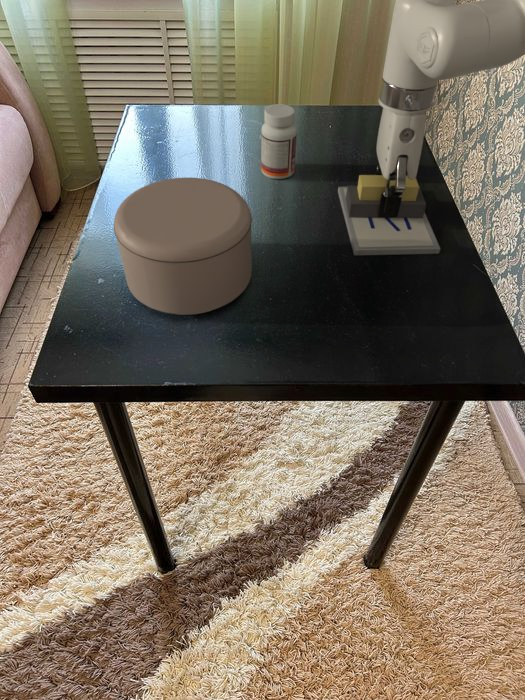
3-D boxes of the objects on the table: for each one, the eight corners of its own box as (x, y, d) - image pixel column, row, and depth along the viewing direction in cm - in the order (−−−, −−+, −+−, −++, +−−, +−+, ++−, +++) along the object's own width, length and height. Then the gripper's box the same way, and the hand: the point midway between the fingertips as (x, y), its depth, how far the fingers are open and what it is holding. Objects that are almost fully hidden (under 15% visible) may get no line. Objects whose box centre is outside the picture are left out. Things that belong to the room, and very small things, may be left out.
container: (269, 305, 74) (271, 235, 66) (140, 335, 70) (123, 265, 62) (231, 232, 86) (228, 164, 77) (118, 254, 82) (102, 185, 73)
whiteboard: (438, 253, 83) (440, 248, 82) (353, 255, 82) (354, 250, 81) (411, 190, 95) (413, 185, 94) (337, 191, 94) (338, 186, 93)
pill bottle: (279, 159, 101) (281, 99, 93) (301, 173, 98) (305, 111, 90) (254, 170, 99) (254, 108, 90) (275, 184, 96) (277, 121, 87)
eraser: (416, 199, 91) (423, 172, 87) (422, 218, 87) (430, 190, 83) (345, 198, 91) (349, 171, 87) (349, 217, 87) (353, 189, 83)
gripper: (447, 120, 69) (416, 236, 83) (422, 69, 81) (398, 178, 94) (389, 120, 69) (368, 236, 83) (372, 68, 81) (355, 177, 94)
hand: (384, 204), depth 88 cm, fingers closed on eraser, 5 cm apart
